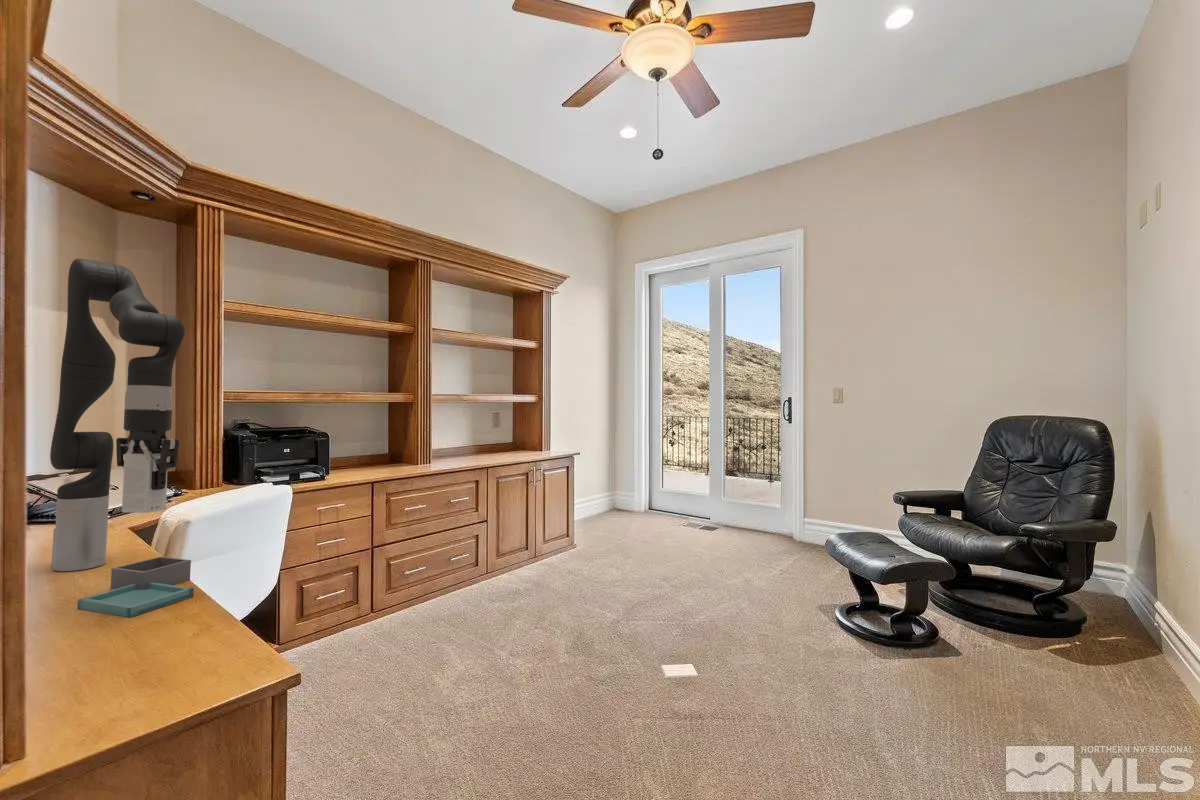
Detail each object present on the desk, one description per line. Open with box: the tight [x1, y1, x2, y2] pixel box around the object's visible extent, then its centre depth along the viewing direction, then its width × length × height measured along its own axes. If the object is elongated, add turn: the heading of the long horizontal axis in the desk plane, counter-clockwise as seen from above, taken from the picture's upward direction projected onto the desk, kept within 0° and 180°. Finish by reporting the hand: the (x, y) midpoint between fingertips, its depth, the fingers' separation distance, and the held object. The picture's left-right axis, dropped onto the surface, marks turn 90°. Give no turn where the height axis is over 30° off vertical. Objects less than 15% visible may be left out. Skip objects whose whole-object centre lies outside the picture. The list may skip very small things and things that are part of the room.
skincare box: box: [121, 453, 169, 514], centre depth 108 cm, size 6×4×12 cm
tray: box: [77, 582, 195, 618], centre depth 107 cm, size 14×12×2 cm
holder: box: [110, 556, 192, 590], centre depth 118 cm, size 9×10×4 cm
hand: (145, 488), depth 108 cm, fingers closed on skincare box, 6 cm apart
